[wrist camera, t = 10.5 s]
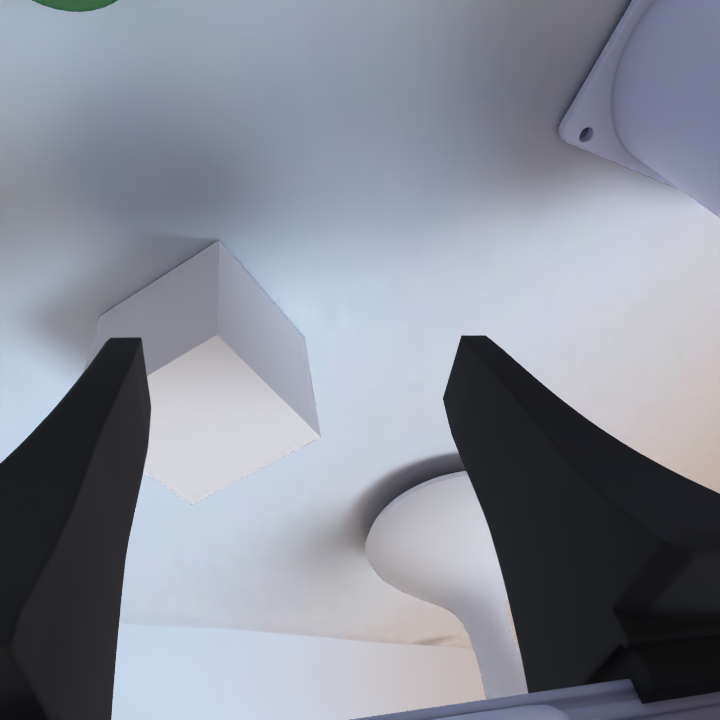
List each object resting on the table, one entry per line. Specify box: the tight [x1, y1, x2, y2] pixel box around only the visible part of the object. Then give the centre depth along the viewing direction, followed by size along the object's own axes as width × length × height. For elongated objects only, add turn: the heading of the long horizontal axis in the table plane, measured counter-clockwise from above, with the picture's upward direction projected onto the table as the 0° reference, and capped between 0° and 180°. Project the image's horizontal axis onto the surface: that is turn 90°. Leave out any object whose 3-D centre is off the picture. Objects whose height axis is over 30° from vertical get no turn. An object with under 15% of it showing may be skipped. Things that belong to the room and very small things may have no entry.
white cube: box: [84, 240, 321, 505], centre depth 22 cm, size 6×6×6 cm
